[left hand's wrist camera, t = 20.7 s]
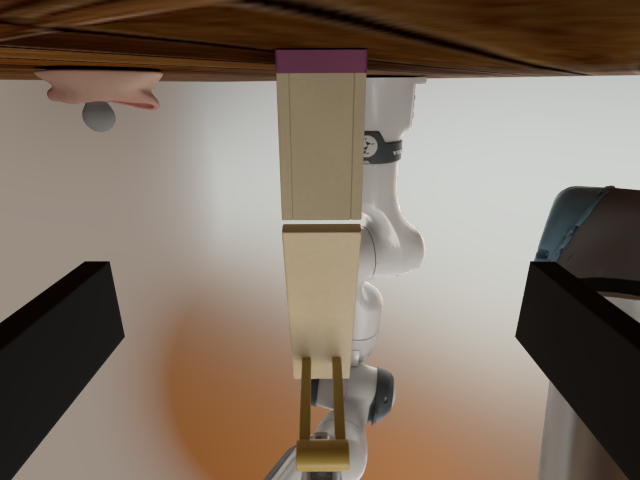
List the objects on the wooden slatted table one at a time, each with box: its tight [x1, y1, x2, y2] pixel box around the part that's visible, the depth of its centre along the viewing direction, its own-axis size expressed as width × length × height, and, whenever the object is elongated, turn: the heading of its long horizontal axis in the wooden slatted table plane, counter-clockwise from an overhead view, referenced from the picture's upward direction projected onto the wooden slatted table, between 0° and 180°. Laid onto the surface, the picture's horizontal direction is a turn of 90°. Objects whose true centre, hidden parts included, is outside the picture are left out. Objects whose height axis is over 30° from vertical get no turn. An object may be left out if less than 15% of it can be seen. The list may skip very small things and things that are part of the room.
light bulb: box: [82, 101, 116, 132], centre depth 81 cm, size 6×6×10 cm
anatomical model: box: [34, 69, 163, 110], centre depth 40 cm, size 13×4×12 cm
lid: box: [282, 224, 362, 472], centre depth 25 cm, size 15×4×9 cm
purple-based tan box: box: [275, 50, 368, 220], centre depth 28 cm, size 14×5×9 cm, turn 0°
